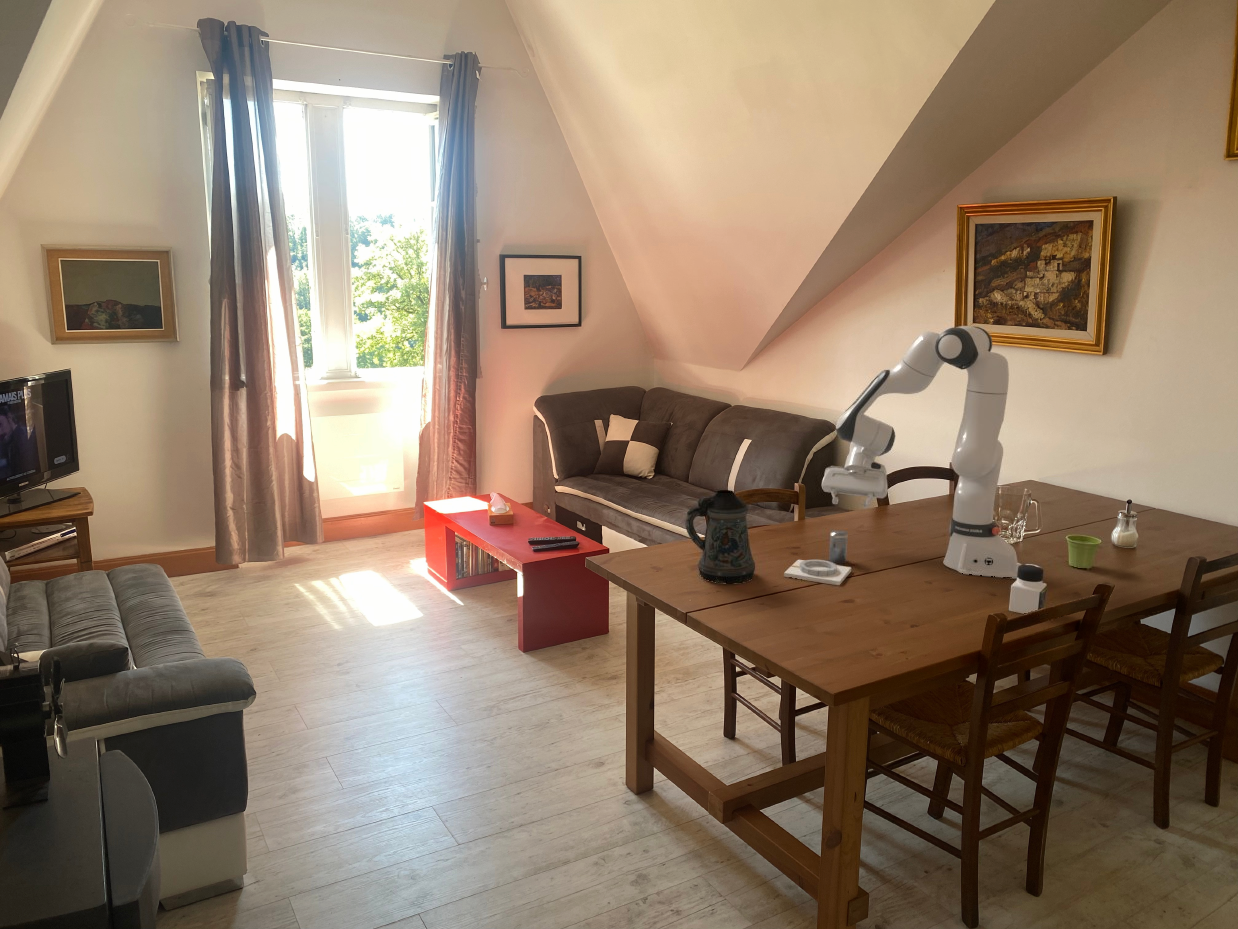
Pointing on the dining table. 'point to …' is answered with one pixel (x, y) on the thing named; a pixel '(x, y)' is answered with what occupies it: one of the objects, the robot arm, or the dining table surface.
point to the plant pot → (1082, 550)
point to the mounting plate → (819, 578)
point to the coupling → (838, 546)
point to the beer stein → (723, 538)
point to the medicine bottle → (1028, 590)
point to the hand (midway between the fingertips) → (849, 504)
